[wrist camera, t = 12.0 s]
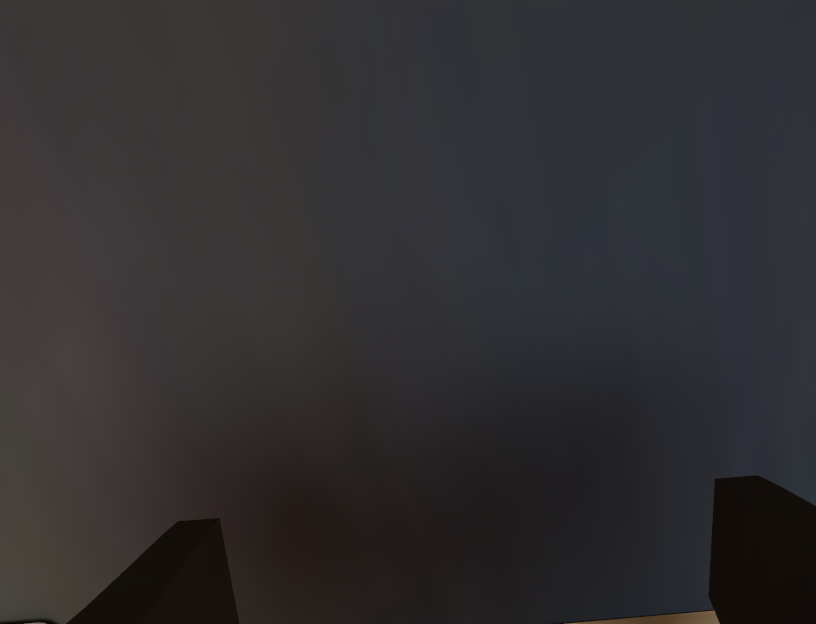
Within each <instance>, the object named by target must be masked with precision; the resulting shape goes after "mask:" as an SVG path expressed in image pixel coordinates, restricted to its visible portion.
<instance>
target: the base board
mask: <svg viewBox="0 0 816 624" xmlns="http://www.w3.org/2000/svg"><path fill="white" fill-rule="evenodd" d="M566 624H720V623H719V621H718V618H717V616H716V613H715V611H704V612H692V613H681V614H670V615H658V616H647V617H635V618H624V619H612V620H601V621H589V622H578V623H566Z"/></svg>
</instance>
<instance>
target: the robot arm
mask: <svg viewBox="0 0 816 624" xmlns="http://www.w3.org/2000/svg"><path fill="white" fill-rule="evenodd" d="M709 599H710V601H711V603H712V606H713V608H714V611H715V613H716V616H717V618H718V621H719V623H720V624H816V506H815V505H813V504H811V503H809V502H807V501H806V500H804V499H802V498H800V497H798V496H797V495H795V494H793V493H791V492H789V491H788V490H786V489H784V488H782V487H780V486H778V485H776V484H774V483H772V482H770V481H768V480H766V479H764V478H762V477H760V476H745V477H732V478H719V479H715V489H714V507H713V525H712V544H711V562H710V581H709ZM26 624H46V623H39V622H38V623H26ZM66 624H239V621H238V616H237V610H236V605H235V599H234V594H233V589H232V583H231V578H230V572H229V567H228V561H227V556H226V551H225V545H224V540H223V534H222V529H221V524H220V518H215V519H202V520H190V521H178V522H177V523H176V524H174V525H173V526H172V527H171V528H170V529H169V530H168V531H166V532H165V533H164V534H163V535H162V536H161V537H160V538H159V539H158V540H157V541H156V542H155V543H153V544H152V545H151V546H150V547H149V548H148V549H147V550H146V551H145V552H144V553H143V554H142V555H141V556H140V557H139V558H138V559H137V560H136V561H135V562H133V563H132V564H131V565H130V566H129V567H128V568H127V569H126V570H125V571H124V572H123V573H122V574H121V575H120V576H119V577H118V578H116V579H115V580H114V581H113V582H112V583H111V584H110V585H109V586H108V587H107V588H106V589H105V590H104V591H102V592H101V593H100V594H99V595H98V596H97V597H96V598H95V599H94V600H93V601H92V602H91V603H89V604H88V605H87V606H86V607H85V608H84V609H83V610H82V611H81V612H79V613H78V614H77V615H76V616H75V617H74V618H72V619H71V620H70V621H69V622H68V623H66Z"/></svg>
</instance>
